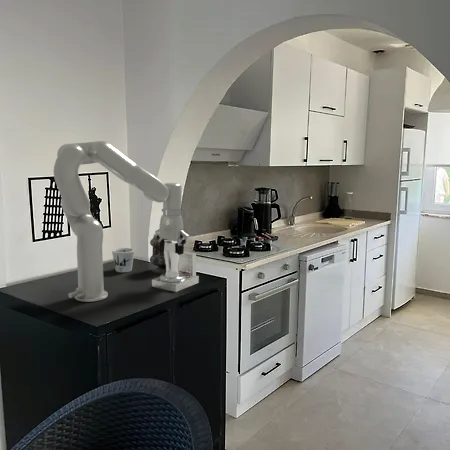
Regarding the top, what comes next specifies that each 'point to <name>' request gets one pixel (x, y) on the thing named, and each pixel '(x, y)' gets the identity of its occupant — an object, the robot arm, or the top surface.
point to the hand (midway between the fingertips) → (171, 252)
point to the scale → (186, 267)
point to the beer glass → (171, 259)
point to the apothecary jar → (157, 256)
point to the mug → (123, 259)
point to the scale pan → (178, 279)
